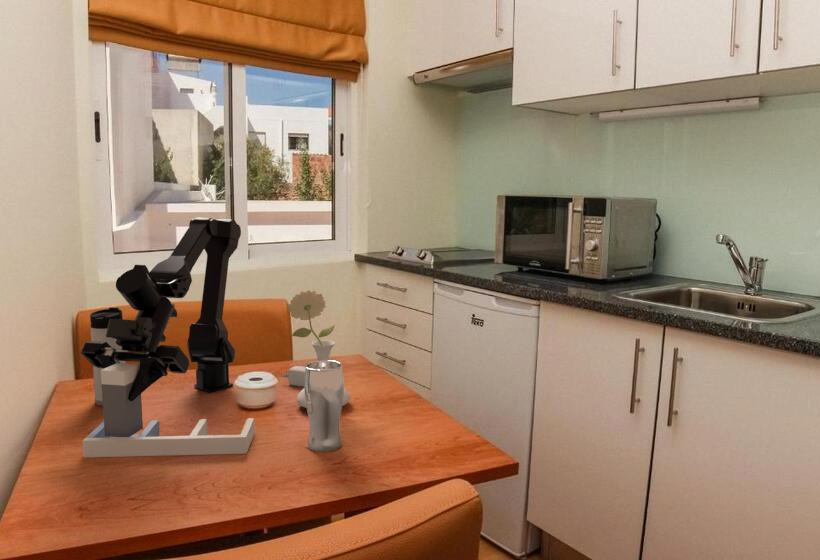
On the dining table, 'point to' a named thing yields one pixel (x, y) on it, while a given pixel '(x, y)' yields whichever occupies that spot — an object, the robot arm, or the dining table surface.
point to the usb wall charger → (296, 376)
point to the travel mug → (99, 334)
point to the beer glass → (324, 403)
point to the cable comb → (167, 442)
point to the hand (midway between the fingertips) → (117, 399)
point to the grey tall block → (120, 401)
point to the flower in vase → (305, 309)
